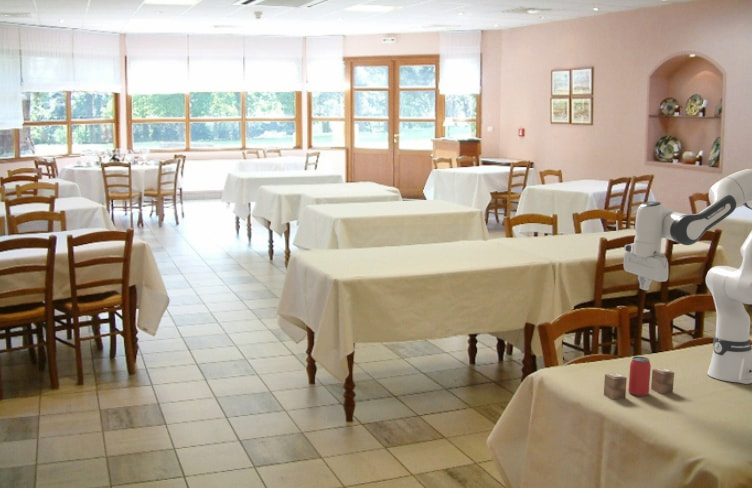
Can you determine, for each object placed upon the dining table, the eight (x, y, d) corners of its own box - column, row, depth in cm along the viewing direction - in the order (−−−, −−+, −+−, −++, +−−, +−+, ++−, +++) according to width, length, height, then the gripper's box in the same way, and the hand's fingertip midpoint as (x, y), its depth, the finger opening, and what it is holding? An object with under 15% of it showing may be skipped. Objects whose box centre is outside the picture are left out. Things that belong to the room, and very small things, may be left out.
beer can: (649, 397, 294) (652, 362, 292) (628, 395, 296) (631, 360, 294) (647, 391, 301) (650, 356, 299) (627, 389, 302) (630, 355, 300)
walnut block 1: (616, 393, 298) (617, 372, 297) (625, 397, 293) (626, 376, 292) (603, 394, 296) (605, 373, 295) (612, 399, 292) (613, 378, 291)
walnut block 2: (663, 387, 305) (664, 367, 303) (672, 392, 300) (674, 371, 299) (651, 389, 303) (652, 368, 302) (660, 393, 298) (662, 372, 297)
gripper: (674, 254, 293) (671, 295, 296) (636, 244, 312) (634, 282, 315) (658, 255, 291) (655, 296, 294) (621, 245, 310) (618, 283, 312)
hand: (644, 289), depth 304 cm, fingers closed
